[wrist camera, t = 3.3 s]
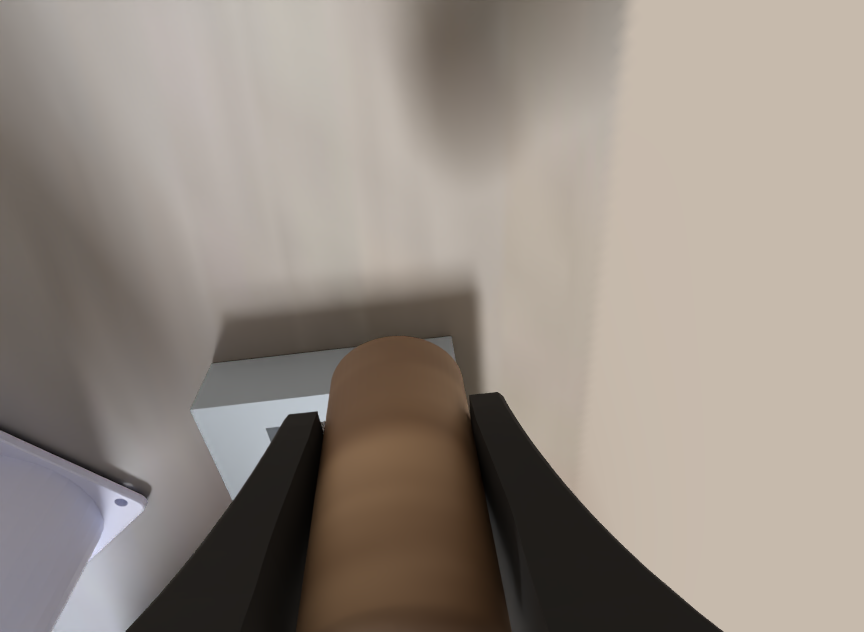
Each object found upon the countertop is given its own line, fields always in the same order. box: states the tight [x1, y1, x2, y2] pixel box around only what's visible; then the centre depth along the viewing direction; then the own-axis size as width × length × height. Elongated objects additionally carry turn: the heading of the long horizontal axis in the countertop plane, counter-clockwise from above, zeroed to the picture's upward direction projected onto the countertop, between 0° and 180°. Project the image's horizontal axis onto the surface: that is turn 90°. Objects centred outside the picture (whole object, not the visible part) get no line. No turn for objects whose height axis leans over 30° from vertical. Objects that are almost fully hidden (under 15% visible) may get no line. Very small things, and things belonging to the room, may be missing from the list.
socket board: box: [190, 336, 456, 501], centre depth 22 cm, size 14×9×2 cm, turn 5°
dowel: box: [296, 336, 512, 632], centre depth 10 cm, size 3×3×6 cm
